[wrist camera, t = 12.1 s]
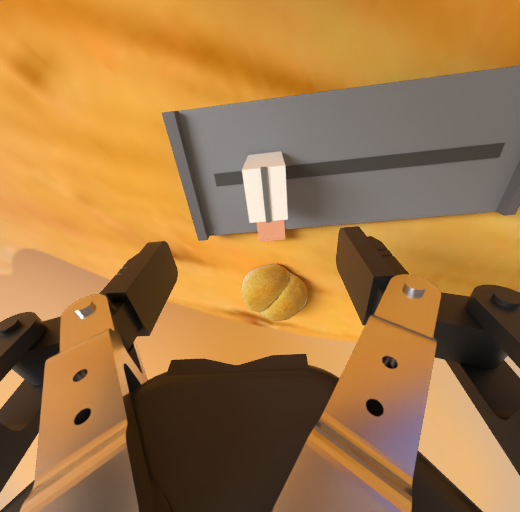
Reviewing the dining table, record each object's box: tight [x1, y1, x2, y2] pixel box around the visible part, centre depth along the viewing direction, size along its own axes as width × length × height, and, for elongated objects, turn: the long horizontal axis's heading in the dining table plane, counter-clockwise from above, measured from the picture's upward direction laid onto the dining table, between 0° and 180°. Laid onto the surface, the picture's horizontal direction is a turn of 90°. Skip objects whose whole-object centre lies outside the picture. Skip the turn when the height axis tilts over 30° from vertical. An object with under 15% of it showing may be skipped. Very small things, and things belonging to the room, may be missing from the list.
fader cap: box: [242, 151, 288, 223], centre depth 19 cm, size 3×4×6 cm
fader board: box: [162, 66, 520, 241], centre depth 22 cm, size 32×13×3 cm, turn 96°
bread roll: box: [241, 264, 308, 321], centre depth 31 cm, size 8×9×4 cm
